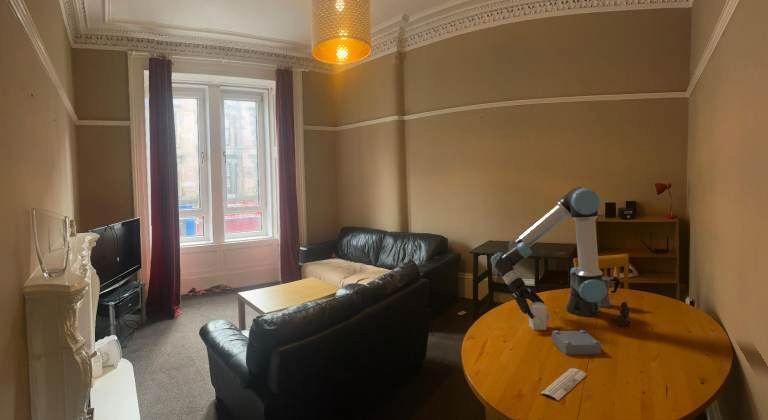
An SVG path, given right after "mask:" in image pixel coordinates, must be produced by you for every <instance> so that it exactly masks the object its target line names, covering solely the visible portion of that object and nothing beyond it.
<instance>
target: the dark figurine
mask: <svg viewBox="0 0 768 420" xmlns="http://www.w3.org/2000/svg"><path fill="white" fill-rule="evenodd" d="M620 307H621V308H620V309H619V314H620V315H616V316H612V317H611V318H612V319H611V320H613V321H614V322H617V323H618V324H617V326H616V327H618V328H620V327H621V325H624V326H625V325H626V327H629V328H632V327H631V323H632V321H631V320H630V319H629V317H630V313H629V312H631V308H630V307H629V306H628V302H627V300H626V301H622V302H621V304H620Z"/></svg>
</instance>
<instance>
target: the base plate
mask: <svg viewBox="0 0 768 420" xmlns="http://www.w3.org/2000/svg"><path fill="white" fill-rule="evenodd" d="M551 341H552V342H553V343H554V344H555V345H556V346H557V347H558V348H559V350H560V351H562V353H563V354H564V355H566V356H567V355H568V356H569V355H570V356H573V355H574V356H575V355H601V354H602V343H600V341H598V340H597V339H595V338H594V337H593V336H591V335H590V334H589V332H587V331H586V330H585V329H581V330H562V331H561V330H560V331H559V330H553V331H552V332H551Z"/></svg>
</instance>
